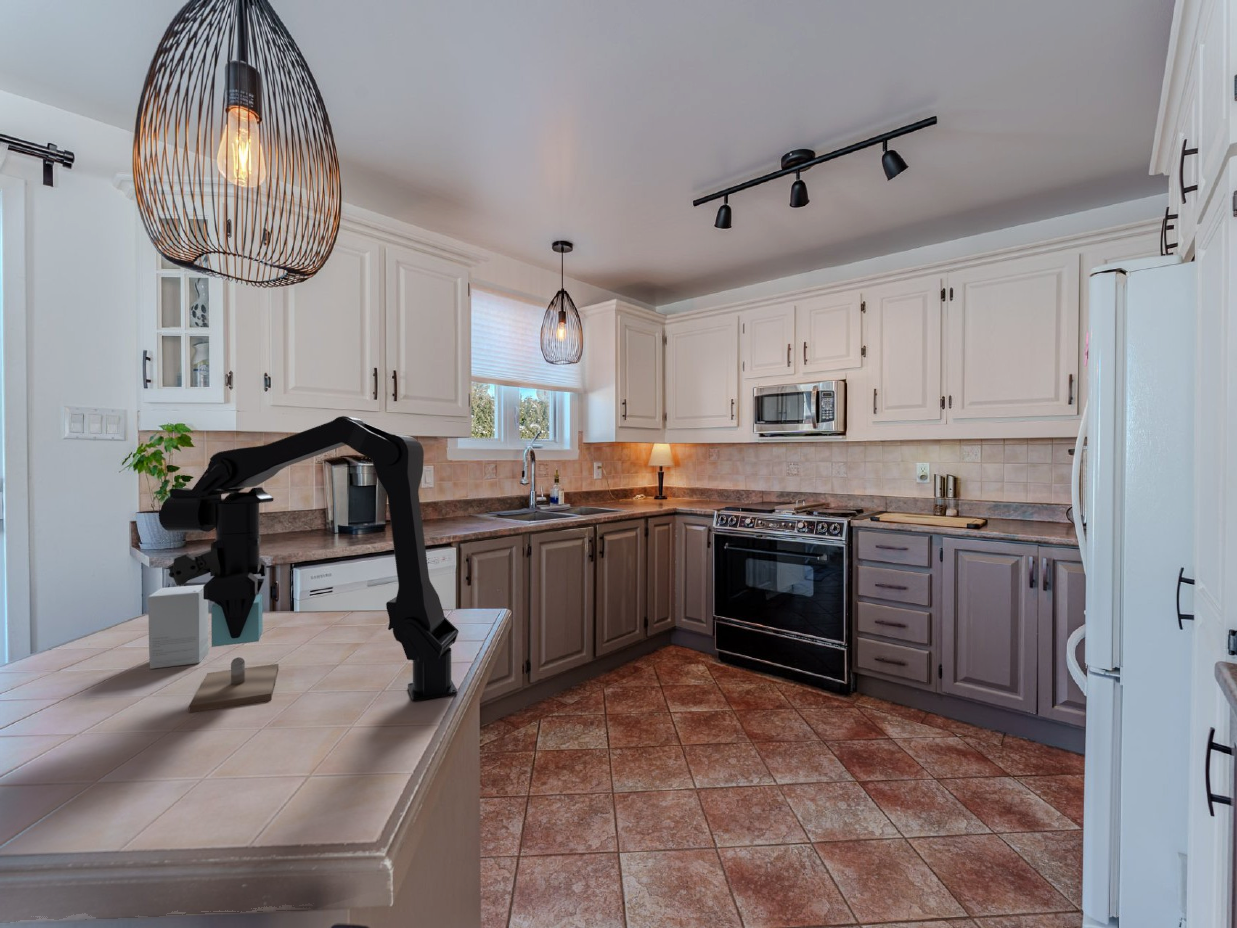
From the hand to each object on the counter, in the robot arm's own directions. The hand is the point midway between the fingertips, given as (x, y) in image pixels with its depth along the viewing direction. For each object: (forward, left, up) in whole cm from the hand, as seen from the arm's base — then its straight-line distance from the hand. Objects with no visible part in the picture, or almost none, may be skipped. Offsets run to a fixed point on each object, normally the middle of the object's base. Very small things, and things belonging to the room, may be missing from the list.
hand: (238, 632), depth 91 cm
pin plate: (0, 0, -9) cm, 9 cm away
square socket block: (0, 0, -1) cm, 1 cm away
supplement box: (+20, +11, -9) cm, 25 cm away
